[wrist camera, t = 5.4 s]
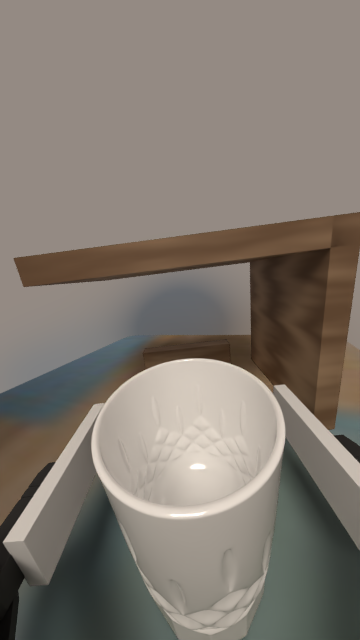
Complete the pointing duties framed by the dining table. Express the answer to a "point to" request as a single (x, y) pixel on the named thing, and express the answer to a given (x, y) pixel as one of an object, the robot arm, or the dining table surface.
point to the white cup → (195, 488)
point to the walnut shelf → (266, 294)
